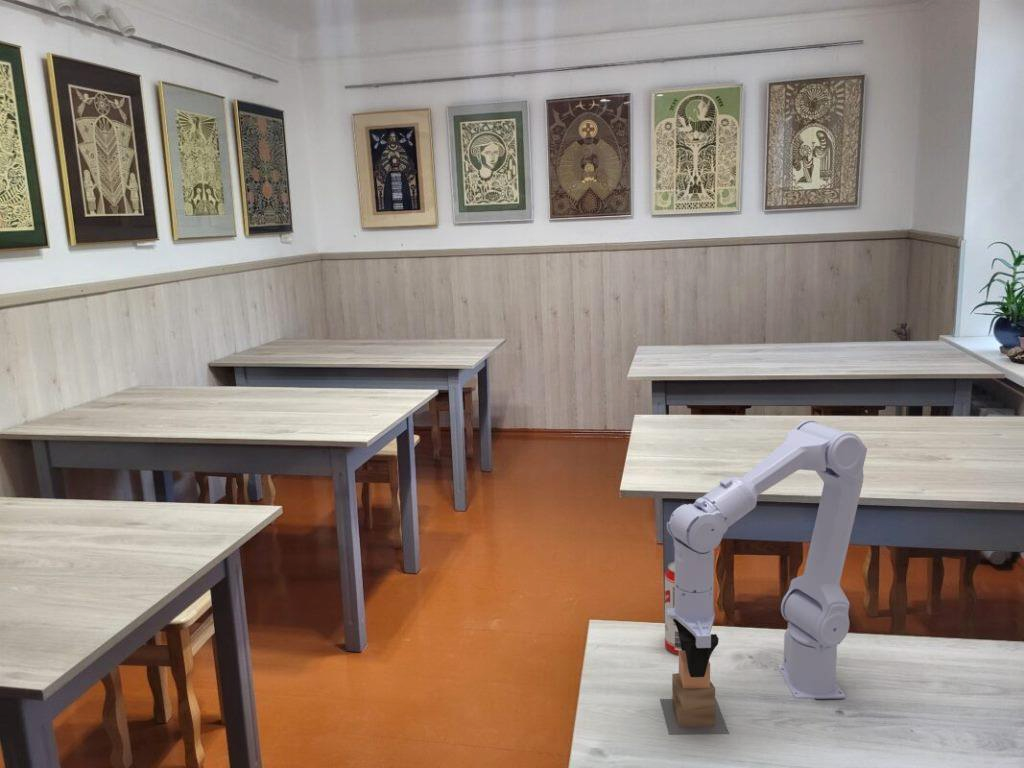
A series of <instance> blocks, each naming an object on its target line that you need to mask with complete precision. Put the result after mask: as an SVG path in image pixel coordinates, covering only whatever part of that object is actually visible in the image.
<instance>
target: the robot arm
mask: <svg viewBox="0 0 1024 768" xmlns="http://www.w3.org/2000/svg"><path fill="white" fill-rule="evenodd" d="M867 452H868V448H867V447H866V445H865V444H864V443H863V441H862V440H861V438H860V437H859V436H858V435H857V434H855V433H853V432H849V431H845V430H844V431H843V430H841V429H837V428H835V427H831V426H828V425H824V424H821V423H819V422H818V421H815V420H811V419H810V420H809V419H807V420H803V421H801V422H800V423H798V424H797V425H796V426H795V427H794V428H793V429H791V430H789V431H787V432H786V435H785V440H784V442H783V443H782V444H780V445H779V446H778V447H777V448H775V449H774V450H773V451H772V452H771V453H769V454H768V455H767V456H766V457H765V458H763V460H761V461H760V462H759V463H757V465H756V466H754V467H753V468H752V469H750V470H749V472H746V474H745V475H743V476H742V477H740V476H739V477H738V476H729V477H723V478H722V479H720V481H719V484H718V485H717V486H715V487H714V488H712V489H711V490H710V491H708V492H707V493H705V494H704V495H703V496H702V497H698V498H697V499H695V502H694V503H687V504H686V503H684V504H681V505H680V506H678V507H677V508H676V509H675V510H674V511H672V513H671V515H670V518H669V521H668V522H666V529H667V532H668V534H669V535H670V536H671V537H672V539H673V547H674V562H675V606H674V608H671V609H667V616H668V618H670V619H673V620H674V622H675V624H676V626H677V629H678V636H679V639H680V644H681V649H682V650H685V653H686V658H687V665H688V670H689V674H690V676H691V677H704V676H705V673H706V669H707V665H708V662H710V659H711V656H712V653H713V652H714V650H715V648H717V646H718V644H719V637H718V635H717V633H714V634H713V633H711V632H712V629H713V625H714V623H715V622H714V621H715V616H716V615H715V614H716V613H715V609H714V590H715V589H714V581H715V579H714V576H715V571H714V569H715V549H717V548H718V547H719V545H720V543H721V541H722V539H723V537H724V535H725V533H727V532H728V529H729V527H731V526H732V525H733V524H735V523H736V522H737V521H739V520H740V519H742V518H743V517H744V516H745V515H747V514H748V513H750V512H751V511H752V510H753V509H755V508H756V507H757V502H758V496H759V495H760V494H762V493H764V492H765V491H767V490H768V489H771V488H772V487H774V486H775V485H776V484H778V483H780V482H781V481H783V480H785V479H786V478H788V477H790V476H791V475H793V474H794V473H796V472H797V471H800V470H801V471H803V470H804V471H814V472H816V473H817V475H818V476H819V477H820V479H821V480H822V481H823V486H822V492H821V497H820V500H819V505H818V509H817V512H816V513H817V515H816V519H815V523H814V527H813V530H812V536H811V539H810V545H809V549H808V553H807V557H806V563H805V567H804V571H803V574H802V575H799V576H797V577H795V578H792V580H791V581H790V583H789V584H790V585H789V588H788V591H787V592H786V594H785V595H784V596H783V598H782V601H781V604H780V612H781V616H782V618H783V619H784V620H785V621H787V628H786V630H785V632H784V636H783V637H784V640H783V664H782V663H781V664H778V665H777V669H778V671H779V672H780V674H781V675H782V677H783V679H784V682H786V685H787V686H788V688H789V690H790V692H791V694H792V696H793V697H794V698H795V699H815V700H820V699H823V700H824V699H825V700H826V699H845V696H846V694H845V693H844V691H843V690H842V689H841V687H840V685H839V684H838V683H837V682H838V681H837V679H836V675H837V656H838V655H837V653H838V645H841V643H842V642H843V640H845V638H846V637H847V635H848V632H849V630H850V619H849V617H850V616H849V609H850V605H851V604H850V601H849V600H848V598H847V596H846V593H845V592H844V590H843V588H842V587H841V585H840V583H841V580H842V579H841V578H842V576H843V575H842V574H843V569H844V567H845V563H846V558H847V553H848V549H849V544H850V540H851V534H852V530H853V526H854V524H855V518H856V514H857V510H858V504H859V502H860V501H859V500H860V497H861V491H862V488H863V483H864V478H865V477H864V475H865V474H864V465H865V461H866V456H867Z"/></svg>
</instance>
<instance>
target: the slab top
mask: <svg viewBox="0 0 1024 768" xmlns="http://www.w3.org/2000/svg"><path fill="white" fill-rule="evenodd" d="M671 675H672V677H671V679H672V680H671V681H672V682H671V687H672V688H671V692H672V691H673V693H674V695H675V696H676V698H677V700H678V701H679V703H680V705H681V706H682V708H683V710H688V709H695V708H703V707H711V706H715V698H716V687H715V686H714V684H713V682H711V680H710V688H683V685H682V682H681V679H680V676H679V672H677V673H672V674H671Z"/></svg>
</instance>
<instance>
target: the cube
mask: <svg viewBox="0 0 1024 768" xmlns="http://www.w3.org/2000/svg"><path fill="white" fill-rule="evenodd" d="M678 673H679V676H680V679H681V682H682V685H683V688H710V681H711V663H710V661H709V662H708V665H707V669H706V673H705V676H704V677H691V676H690V674H689V670H688V665H687V658H686V653H685V650H679V655H678Z"/></svg>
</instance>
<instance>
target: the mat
mask: <svg viewBox="0 0 1024 768" xmlns="http://www.w3.org/2000/svg"><path fill="white" fill-rule="evenodd" d="M659 701H660V705H661V710H662V713H663V718H664V720H665V724H666V728H667V729H666V730H667V732H668V735H669V736H681V735H684V736H685V735H730V732H729V729H728V726H727V724H726V721H725V719H724V715H723V713H722V711H721V708H720V706H719V703H718V700H717V698H716V697H715V706H714V707H715V726H712V727H679V726H678V723H677V719H676V716H675V712H674V709H673V705H672V698H659Z"/></svg>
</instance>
